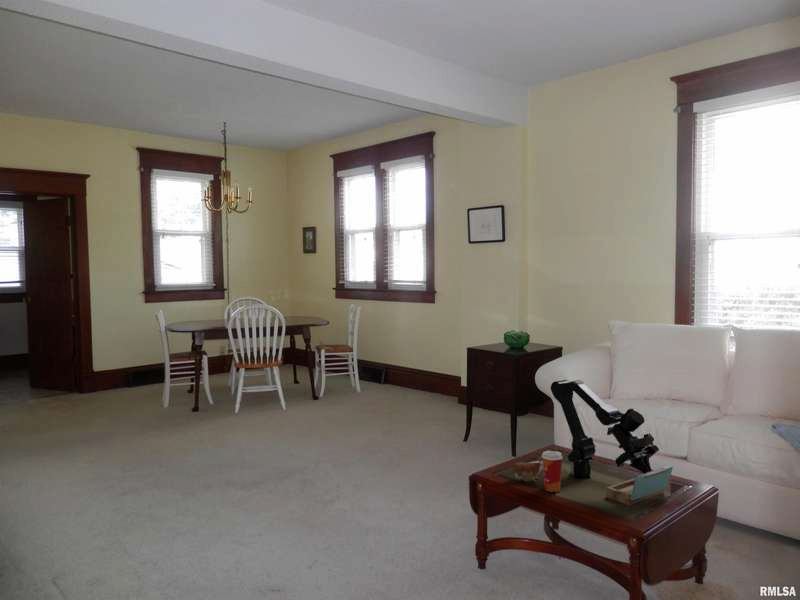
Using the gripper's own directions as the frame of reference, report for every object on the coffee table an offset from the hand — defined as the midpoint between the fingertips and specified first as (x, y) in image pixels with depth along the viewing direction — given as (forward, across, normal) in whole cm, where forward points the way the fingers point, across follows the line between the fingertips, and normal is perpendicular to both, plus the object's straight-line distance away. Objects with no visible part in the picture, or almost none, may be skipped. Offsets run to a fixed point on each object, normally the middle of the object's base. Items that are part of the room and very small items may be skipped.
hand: (651, 476), depth 216 cm
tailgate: (+4, 0, +5) cm, 7 cm away
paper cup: (-13, -21, +26) cm, 36 cm away
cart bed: (+1, 0, +11) cm, 11 cm away
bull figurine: (-22, -20, +35) cm, 46 cm away
